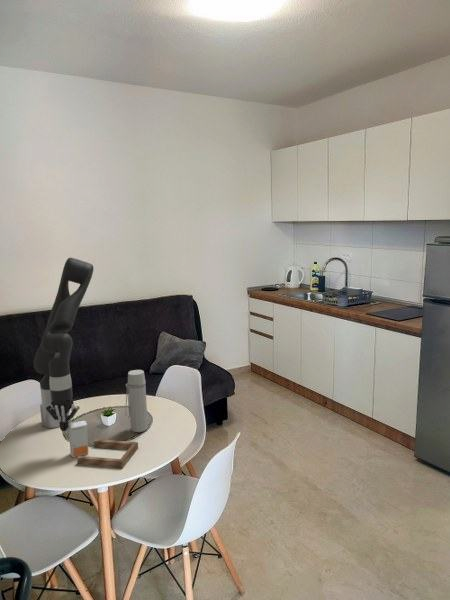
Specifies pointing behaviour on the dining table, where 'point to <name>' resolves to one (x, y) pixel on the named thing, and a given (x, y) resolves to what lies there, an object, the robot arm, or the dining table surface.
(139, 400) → the water bottle
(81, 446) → the skincare box
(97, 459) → the brown wooden frame
